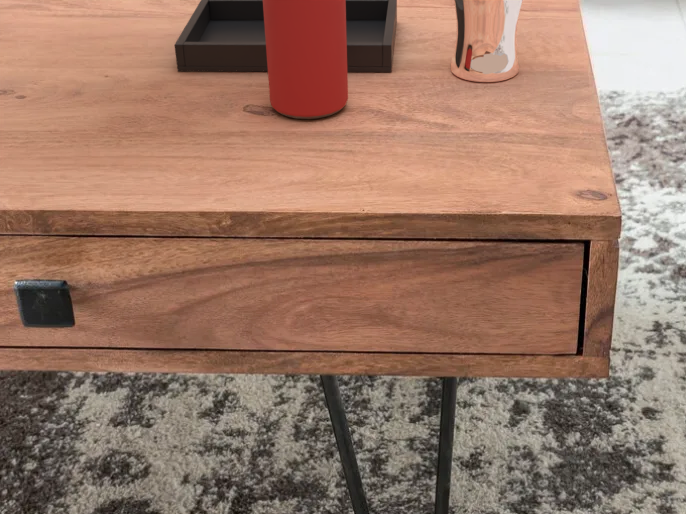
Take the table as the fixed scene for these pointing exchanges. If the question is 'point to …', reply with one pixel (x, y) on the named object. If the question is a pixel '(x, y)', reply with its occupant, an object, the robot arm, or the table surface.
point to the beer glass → (486, 40)
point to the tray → (250, 44)
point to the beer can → (306, 56)
